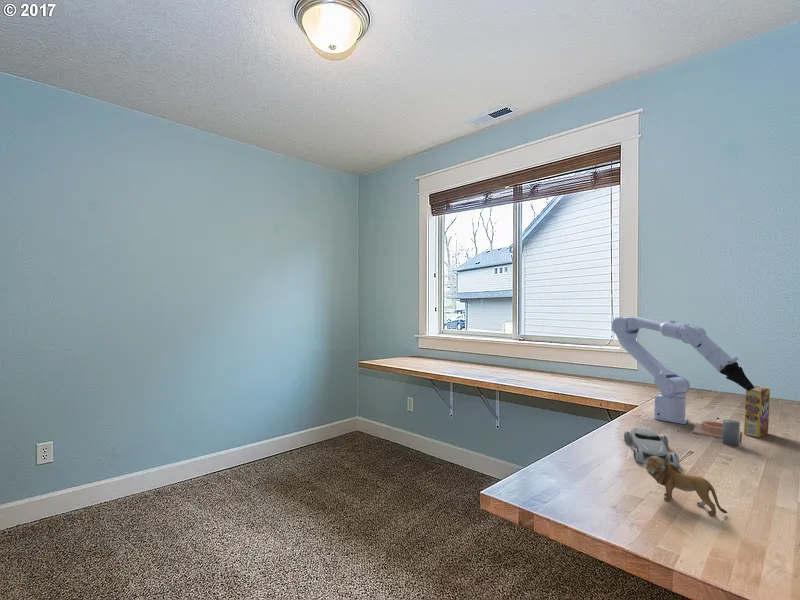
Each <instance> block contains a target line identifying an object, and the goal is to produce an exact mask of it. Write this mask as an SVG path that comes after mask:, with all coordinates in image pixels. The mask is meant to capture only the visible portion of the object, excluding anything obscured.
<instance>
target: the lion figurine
mask: <svg viewBox="0 0 800 600" xmlns="http://www.w3.org/2000/svg"><path fill="white" fill-rule="evenodd" d="M645 470H646V473H647V474H649V475H650V476H651V478H653V479H654V480H655V481H656V483H658V485H662V486H664V487H665V492H664V495H663V496H664V497H663V500H664V501H665V502H666V503H667V502H668V503H671V501H672V500H673V490H674V489H677V490H679V491H683V492H696V494H697V496H698V497H699V499H700V500H701V502H700V501H697V502H696V505H697V506H699V507H705V505H706V506H708V507H709V508H710V510H707V514H708V515H709V516H711V517H715V516H716V515H717V510H716V509H718V511H720V512H721V513H723V514H728V511H727V510H726V509H725V508H722V507H721V505H720V503H719V500H718V497H717V493H716V491H715V488H714V486H713V485H712V484H711V483H710V482H709V481H708V480H707V479H705V478H704V477H702V476H697V475H690V474H685V473H684V472H683V473H682V471H680V470H679V469H678V468H677V467H675V466H674V465H672V464H670V463H668V462H667V461H666V460H664V459H662V458H661V457H657V456H651V457H649V458H648V457H647V464H645ZM710 492H711V494H712V497H713V500H714V502H715V503H714V502H713V501H712V500H711V498H710Z"/></svg>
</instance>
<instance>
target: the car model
mask: <svg viewBox="0 0 800 600" xmlns="http://www.w3.org/2000/svg"><path fill="white" fill-rule="evenodd" d="M623 433H624V434H623V435H624V437H623V438H624V443H625V445H627V446H629V447H630V448H631V449H632V451H633V460H634V462H635V463H640V464H642V465H646V464H647V457H648V458H649V457H651V456H657V457H661V458H662V459H664V460H666V461H667V462H668V463H670V464H672V465H674V466H675V467H676V468H677V469H678V468H680V462H681V461H680V456H679V454H678V453H677V452H671V453H670V454H669V451H668V449H669V439H668V436H666V435H659V434H658V433H657V432H656V431H654V430H651V429H647V428H641V427H637V428H632V429H630V431H624V432H623Z"/></svg>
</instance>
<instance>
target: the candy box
mask: <svg viewBox="0 0 800 600" xmlns="http://www.w3.org/2000/svg"><path fill="white" fill-rule="evenodd" d="M754 387H755V388H753V389H751V390H750V391H747V390H746V389H745V405H744V406H745V407H744V421H743V422H744V425H743V435H746V436H748V437H749V436H750V437H753V438H757V439H758V438H760V437H762V436H764V435H768V433H769V420H770V401H771V388H770V387H765V386H757V385H754Z"/></svg>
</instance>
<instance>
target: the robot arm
mask: <svg viewBox="0 0 800 600" xmlns="http://www.w3.org/2000/svg"><path fill="white" fill-rule="evenodd" d="M642 328H643V329H647V330H652V331H657V332H660V333H661V335H662V336H664V337H668V338H672V339H675V340H679V341H681V342H683V343H684V344H689V345H691V347H692V348H693V349H694V350H695V351H697V352H698V353H699V354H700V355H701V357H703V358H704V359H705V360H706V361H707V362H708V363H709V364H710V365H712V367H713V368H715V370H716V372H717V373H720V374H721V375H723V376H725V378H726V380H729V381H731V382H733V383H735V384H737V385H738V386H739V387H742V389H744V390H745V391H746V390H747V391H750V390H751V389H753V388H755V385H753V383H752V381H750V379H749V378H748V377H747V376H746V374H745V371H744V370H743V368H742V367H741V366H739V363H738V362H737V361H738V360H739V358H738V357H737V356H734V357H731V356H730V355H729V354H728V353H727V352H725V351H724V349H722V348H721V347H720V346H719V345H718V344H717V343H716V342H715V341H714V340H713V339H712V338H710V337H709V336H708V335H707V332H706V331H705V329H704V328H703V327H701V326H698V325H693V326H690V324H689V323H684V324H682V323H678V322H676V320H672V319H671V320H666V321H664V322H659V321H656V320H652V319H648V318H644V317H642V316H641V317H640V316H616V317H615V318H614V319H613V320H612V321H611V331H612V332H613V333H614V334H615V335H616V337H617V340H618V342H619V344H620V346H621V347H622V348H623V349H624V350H625V351H626V352H627V353H628V354H629V355H630V356H631V357H633V359H635V360H636V361H637V363H639V364H640V366H642V367H643V368H644V369H645V370H646V371H647V372H648V373H649V374H650V375H651V376H652V377H653V378H654V380H653V383H654V384H655V385H656V386H657V388H658V390H659V392H660V393H655V395H654V415H653V416H654V417H653V419H655V420H659V421H663V422H664V421H666V422H670V423H676V424H681V425H685V424H687V421H688V418H687V417H686V403H687V402H686V399H687V398H686V395H687V393H688V392H689V390H690V389H691V385H690V382H689V380H688V379H687V378H686V377H684V376H680V375H679V374H678V373H677V372H675V371H673V370H670V369H668V368H667V367H665V366H664V365H663V364H662V363H661V362H660V361H659V360H658V359H657V358H656V357H654V355H653V354H652V353H650V352H649V351H648V350H647V349H646V348H645V347H644V346H643V345H642V344H640V343H639V342H638V341H637V338H638V334H639V331H640V329H642Z"/></svg>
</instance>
